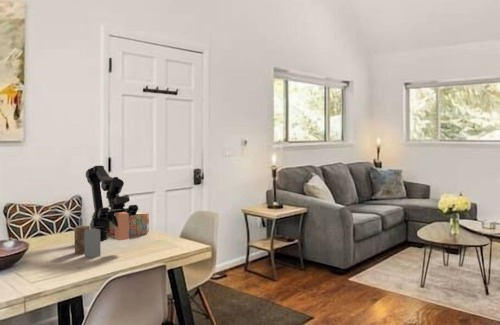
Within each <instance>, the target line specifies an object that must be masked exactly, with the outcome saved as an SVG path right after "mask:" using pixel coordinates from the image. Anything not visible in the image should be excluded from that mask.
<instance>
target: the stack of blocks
mask: <svg viewBox="0 0 500 325" xmlns="http://www.w3.org/2000/svg"><path fill="white" fill-rule="evenodd" d="M149 231H150V213H149V212H148V211H147V212H146V211H145V212H144V211H137V213H136V215H133V216H130V217H129V236H130V235H133V236H134V235H136V236H137V235H139V234H147V233H148V232H149ZM149 233H150V232H149ZM149 233H148V234H149ZM148 234H147V235H148ZM109 235H110V236H111V235H112V236H113V235H114V236H115V225H114V224H113V223H112V222H110V233H109ZM139 236H140V235H139Z"/></svg>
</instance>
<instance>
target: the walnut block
mask: <svg viewBox="0 0 500 325" xmlns="http://www.w3.org/2000/svg"><path fill="white" fill-rule="evenodd" d="M87 229H90V225H78V226H75V227H74V254H75V255H76V254H77V255H78V254H81V255H85V230H87Z"/></svg>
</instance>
